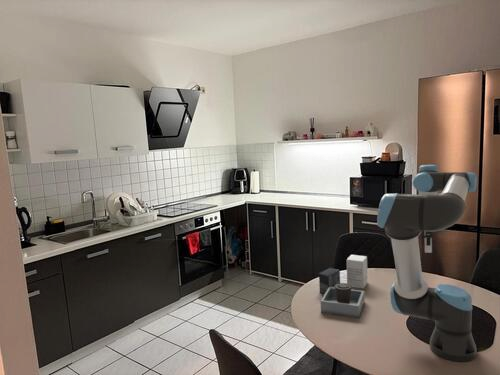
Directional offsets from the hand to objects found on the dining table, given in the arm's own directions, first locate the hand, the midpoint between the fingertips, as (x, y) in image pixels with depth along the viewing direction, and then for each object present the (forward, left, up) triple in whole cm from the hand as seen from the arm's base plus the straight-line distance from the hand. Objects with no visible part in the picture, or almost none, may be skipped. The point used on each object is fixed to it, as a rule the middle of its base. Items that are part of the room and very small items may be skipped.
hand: (428, 247), depth 168 cm
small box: (+8, +46, -29) cm, 55 cm away
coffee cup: (-9, +36, -28) cm, 46 cm away
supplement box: (+20, +34, -29) cm, 49 cm away
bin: (-9, +36, -29) cm, 47 cm away
